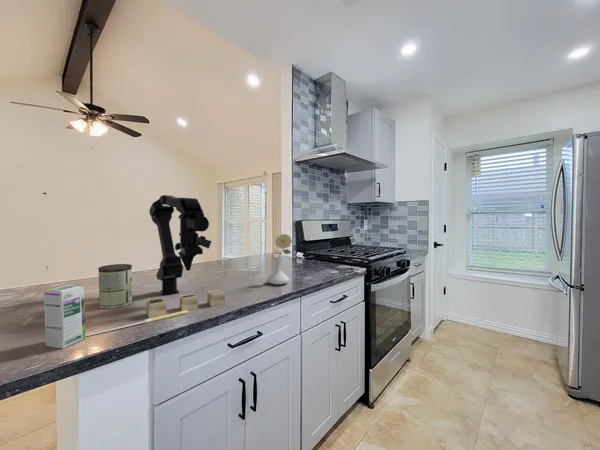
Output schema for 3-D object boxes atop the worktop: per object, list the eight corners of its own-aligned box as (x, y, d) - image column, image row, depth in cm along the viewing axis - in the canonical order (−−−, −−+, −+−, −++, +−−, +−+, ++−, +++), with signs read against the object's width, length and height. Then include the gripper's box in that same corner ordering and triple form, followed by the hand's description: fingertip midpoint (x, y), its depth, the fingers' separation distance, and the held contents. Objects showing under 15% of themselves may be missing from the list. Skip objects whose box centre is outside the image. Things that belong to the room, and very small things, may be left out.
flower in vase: (262, 284, 129) (262, 233, 129) (273, 279, 140) (273, 232, 139) (286, 287, 124) (287, 234, 124) (296, 282, 135) (296, 233, 134)
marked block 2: (179, 307, 96) (179, 295, 96) (194, 305, 99) (194, 293, 99) (182, 312, 92) (182, 298, 92) (197, 309, 95) (197, 296, 94)
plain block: (207, 303, 101) (207, 291, 101) (220, 301, 104) (220, 289, 104) (211, 307, 97) (211, 295, 97) (224, 304, 100) (224, 292, 100)
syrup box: (63, 349, 65) (61, 291, 65) (44, 346, 67) (43, 289, 66) (86, 338, 71) (85, 285, 70) (68, 336, 72) (67, 283, 72)
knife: (59, 337, 71) (59, 340, 68) (185, 308, 94) (189, 309, 91) (59, 342, 71) (59, 345, 68) (185, 312, 94) (190, 313, 90)
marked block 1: (146, 313, 90) (146, 300, 90) (162, 310, 93) (162, 297, 93) (149, 318, 86) (149, 304, 86) (166, 315, 89) (166, 301, 89)
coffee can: (96, 303, 99) (96, 266, 98) (128, 297, 106) (128, 262, 106) (101, 310, 92) (100, 270, 91) (135, 304, 99) (135, 266, 98)
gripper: (216, 231, 99) (216, 272, 100) (202, 228, 115) (202, 264, 115) (185, 231, 93) (185, 276, 94) (174, 229, 108) (174, 267, 109)
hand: (188, 270), depth 103 cm, fingers closed
